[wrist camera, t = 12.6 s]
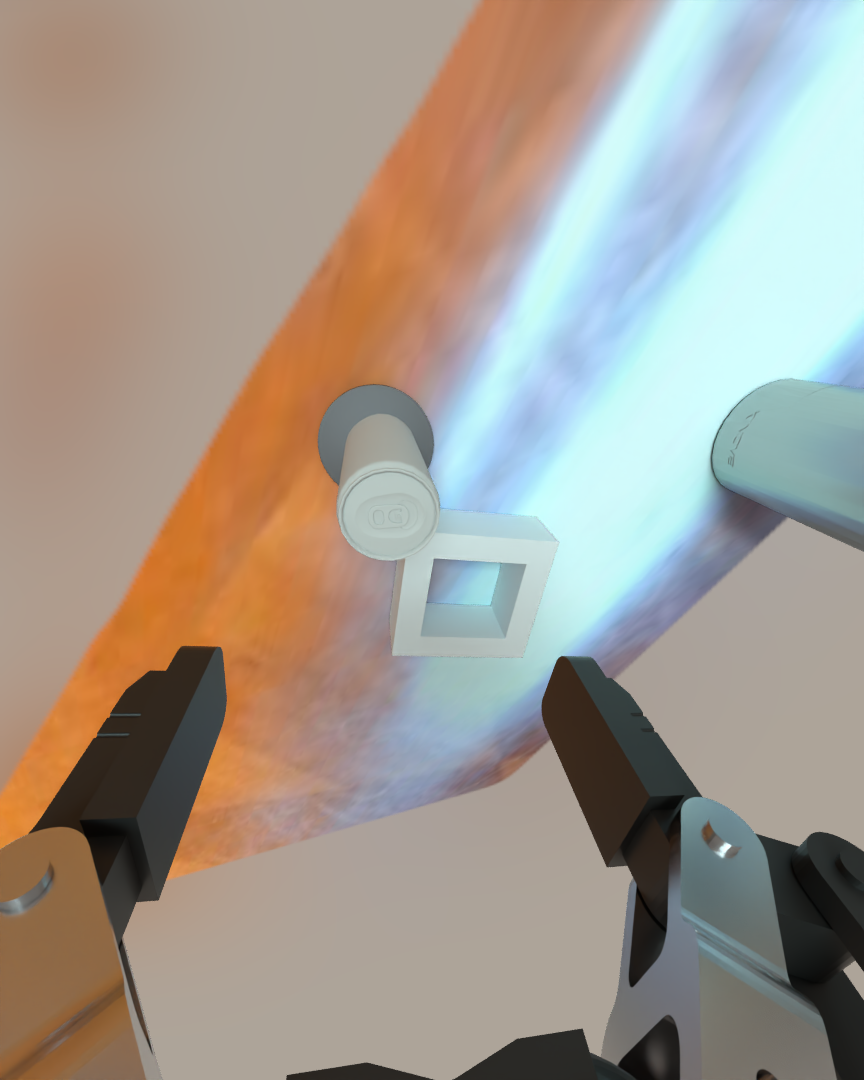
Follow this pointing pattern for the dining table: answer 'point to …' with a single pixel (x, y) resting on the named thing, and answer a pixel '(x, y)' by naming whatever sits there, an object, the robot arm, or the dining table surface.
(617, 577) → the dining table surface
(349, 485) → the beverage can
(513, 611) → the pocket block
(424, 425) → the coaster
